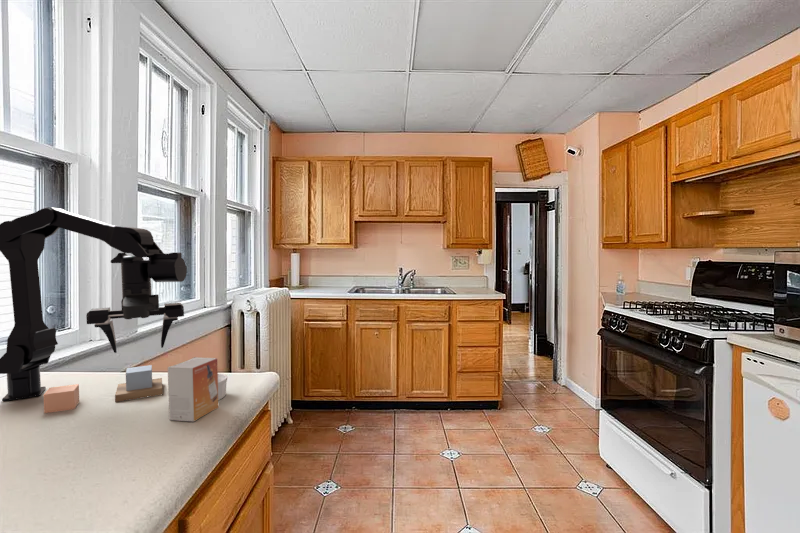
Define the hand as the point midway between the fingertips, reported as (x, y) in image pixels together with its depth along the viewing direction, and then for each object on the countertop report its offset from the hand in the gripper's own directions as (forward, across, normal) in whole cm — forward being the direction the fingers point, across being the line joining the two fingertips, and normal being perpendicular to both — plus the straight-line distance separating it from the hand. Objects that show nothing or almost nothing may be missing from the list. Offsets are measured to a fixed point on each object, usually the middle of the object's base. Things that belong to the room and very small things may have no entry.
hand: (139, 349), depth 98 cm
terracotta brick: (+10, -14, -2) cm, 18 cm away
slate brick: (+8, 0, 0) cm, 9 cm away
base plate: (+10, 0, 0) cm, 10 cm away
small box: (+10, +10, -21) cm, 25 cm away
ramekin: (+10, +13, -12) cm, 20 cm away
